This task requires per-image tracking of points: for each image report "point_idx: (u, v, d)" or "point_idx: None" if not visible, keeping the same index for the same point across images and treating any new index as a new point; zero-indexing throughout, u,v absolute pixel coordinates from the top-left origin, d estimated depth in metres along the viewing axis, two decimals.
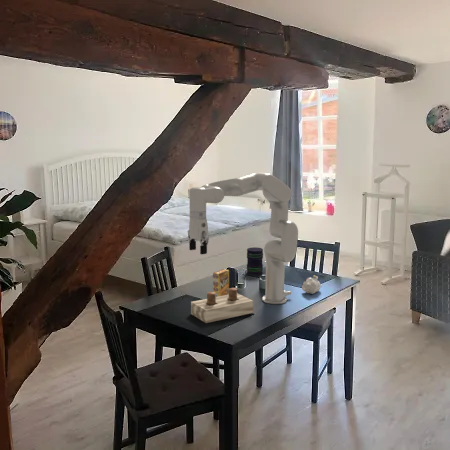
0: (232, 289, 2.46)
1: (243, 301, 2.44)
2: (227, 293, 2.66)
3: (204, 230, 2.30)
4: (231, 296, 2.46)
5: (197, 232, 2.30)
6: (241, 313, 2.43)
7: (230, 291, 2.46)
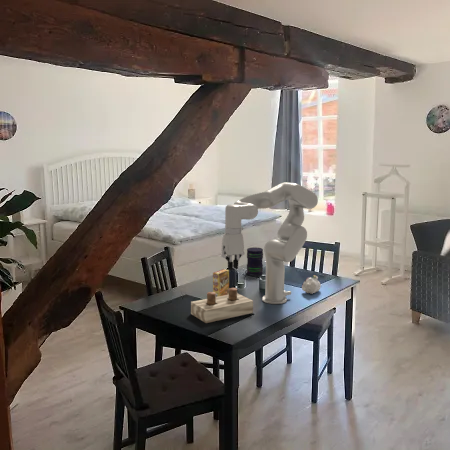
0: (232, 289, 2.46)
1: (243, 301, 2.44)
2: (227, 293, 2.66)
3: None
4: (231, 296, 2.46)
5: (241, 246, 2.43)
6: (241, 313, 2.43)
7: (230, 291, 2.46)
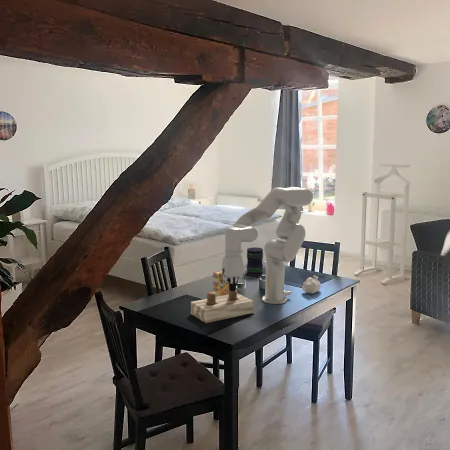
0: None
1: (243, 301, 2.44)
2: (227, 293, 2.66)
3: None
4: (231, 298, 2.46)
5: (241, 268, 2.45)
6: (241, 313, 2.43)
7: (230, 293, 2.46)
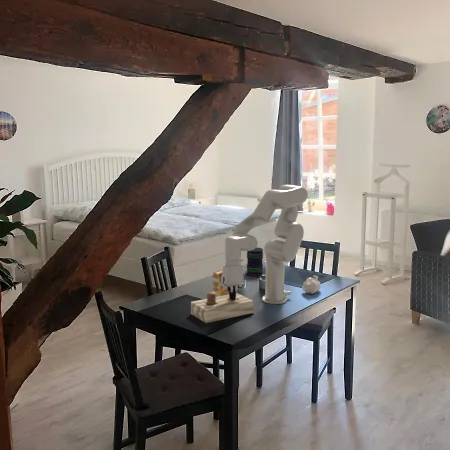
0: None
1: (243, 301, 2.44)
2: (227, 293, 2.66)
3: None
4: None
5: (241, 277, 2.46)
6: (241, 313, 2.43)
7: None
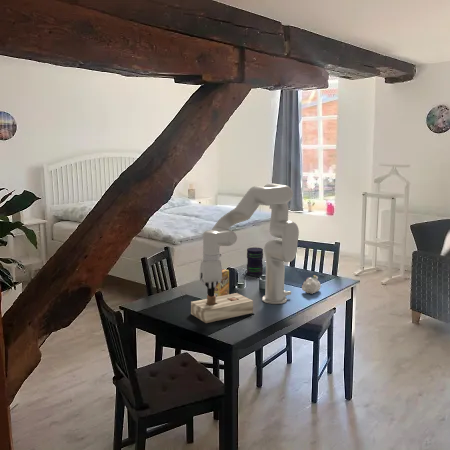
0: (232, 299, 2.47)
1: (243, 301, 2.44)
2: (227, 293, 2.66)
3: None
4: None
5: (219, 272, 2.39)
6: (241, 313, 2.43)
7: None
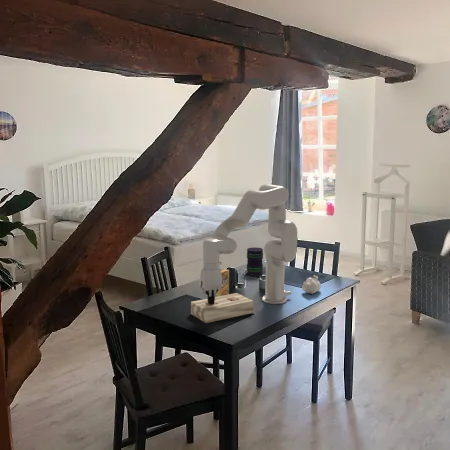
0: (232, 299, 2.47)
1: (243, 301, 2.44)
2: (227, 293, 2.66)
3: None
4: None
5: (219, 280, 2.39)
6: (241, 313, 2.43)
7: None
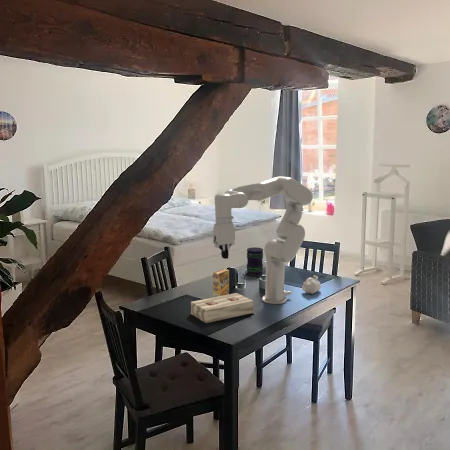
0: (232, 299, 2.47)
1: (243, 301, 2.44)
2: (227, 293, 2.66)
3: None
4: None
5: (232, 235, 2.42)
6: (241, 313, 2.43)
7: None
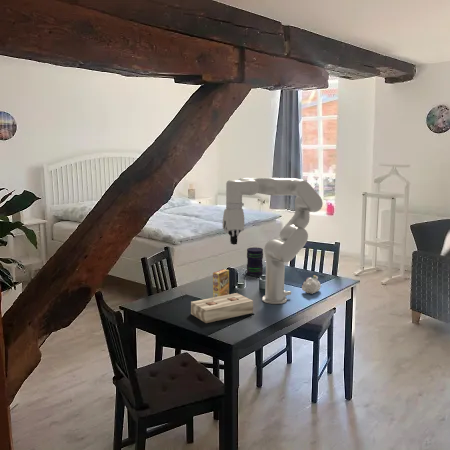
0: (232, 299, 2.47)
1: (243, 301, 2.44)
2: (227, 293, 2.66)
3: None
4: None
5: (242, 221, 2.46)
6: (241, 313, 2.43)
7: None
